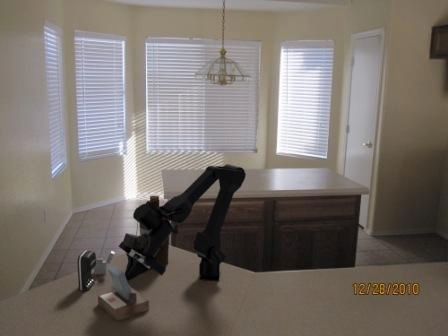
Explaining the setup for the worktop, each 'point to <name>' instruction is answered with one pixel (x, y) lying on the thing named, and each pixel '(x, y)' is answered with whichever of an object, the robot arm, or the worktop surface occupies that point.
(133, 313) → the switch base
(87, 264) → the battery charger
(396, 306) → the worktop surface
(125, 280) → the block
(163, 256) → the olive oil
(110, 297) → the switch plate
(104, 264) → the lighter
